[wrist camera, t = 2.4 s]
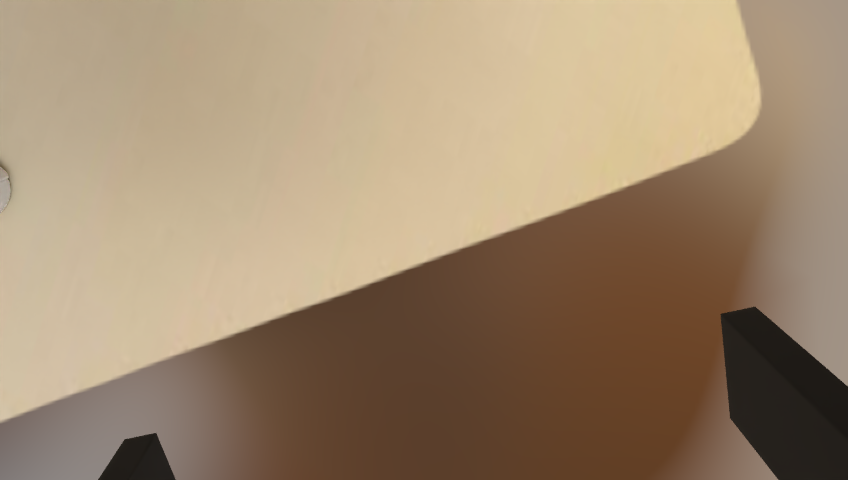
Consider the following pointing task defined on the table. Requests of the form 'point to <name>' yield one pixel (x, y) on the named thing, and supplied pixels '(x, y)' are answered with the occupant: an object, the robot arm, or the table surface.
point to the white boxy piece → (4, 189)
